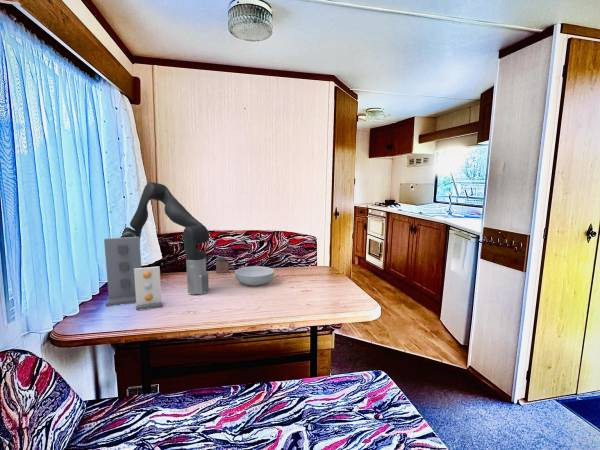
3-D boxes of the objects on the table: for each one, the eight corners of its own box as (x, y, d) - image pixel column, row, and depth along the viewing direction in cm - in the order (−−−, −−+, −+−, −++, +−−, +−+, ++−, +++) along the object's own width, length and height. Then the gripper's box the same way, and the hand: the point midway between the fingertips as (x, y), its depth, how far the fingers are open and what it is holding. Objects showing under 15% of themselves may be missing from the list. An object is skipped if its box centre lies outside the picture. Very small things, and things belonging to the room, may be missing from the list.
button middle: (121, 266, 155) (121, 259, 155) (129, 265, 157) (129, 258, 156) (119, 271, 147) (119, 263, 147) (128, 270, 149) (127, 262, 148)
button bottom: (122, 282, 156) (122, 275, 156) (131, 281, 158) (130, 274, 157) (120, 288, 148) (120, 280, 148) (129, 287, 150) (128, 279, 149)
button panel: (110, 296, 155) (105, 236, 151) (144, 292, 161) (141, 234, 157) (105, 306, 143) (100, 241, 139) (143, 301, 149) (139, 239, 145)
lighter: (230, 272, 196) (229, 256, 194) (228, 274, 192) (227, 257, 191) (217, 272, 196) (216, 256, 195) (215, 274, 193) (214, 257, 192)
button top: (120, 250, 154) (119, 242, 154) (128, 249, 155) (128, 242, 155) (118, 253, 146) (117, 246, 146) (127, 253, 147) (126, 245, 147)
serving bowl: (272, 289, 166) (272, 276, 165) (231, 289, 166) (230, 276, 165) (275, 277, 187) (275, 265, 186) (239, 277, 187) (239, 265, 186)
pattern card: (137, 305, 144) (134, 267, 142) (161, 302, 148) (159, 265, 145) (136, 310, 138) (133, 270, 136) (161, 307, 142) (159, 268, 140)
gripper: (113, 233, 169) (108, 238, 153) (141, 232, 174) (139, 237, 158) (114, 247, 170) (109, 254, 154) (142, 245, 175) (140, 252, 159)
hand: (124, 245), depth 156 cm, fingers closed
